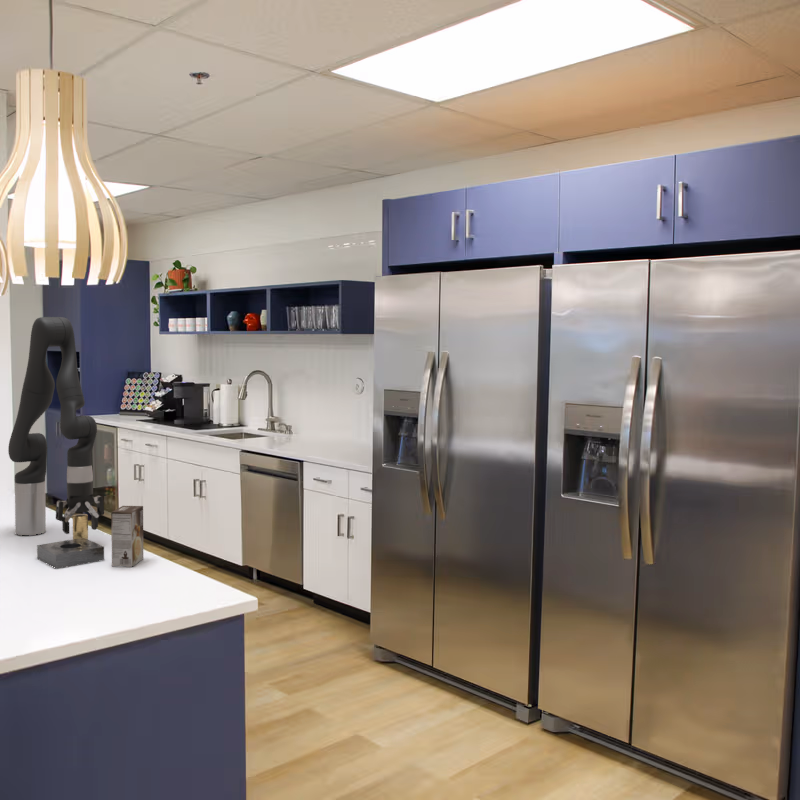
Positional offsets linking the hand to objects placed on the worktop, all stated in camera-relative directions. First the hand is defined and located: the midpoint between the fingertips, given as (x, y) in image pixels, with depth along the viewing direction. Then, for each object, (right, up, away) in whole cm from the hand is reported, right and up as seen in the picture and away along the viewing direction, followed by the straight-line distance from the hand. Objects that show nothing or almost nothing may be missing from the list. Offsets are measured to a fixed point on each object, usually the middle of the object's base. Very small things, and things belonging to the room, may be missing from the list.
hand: (80, 531), depth 249 cm
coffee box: (+20, -7, -16) cm, 26 cm away
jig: (+3, -6, -14) cm, 15 cm away
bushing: (0, -5, +1) cm, 5 cm away
